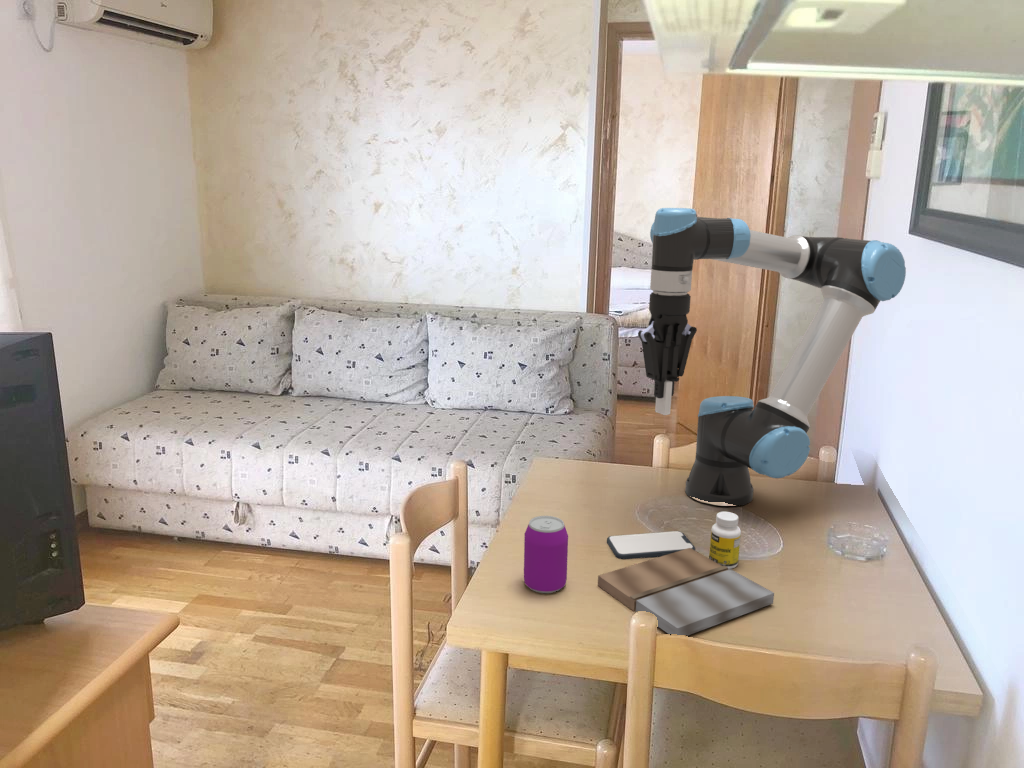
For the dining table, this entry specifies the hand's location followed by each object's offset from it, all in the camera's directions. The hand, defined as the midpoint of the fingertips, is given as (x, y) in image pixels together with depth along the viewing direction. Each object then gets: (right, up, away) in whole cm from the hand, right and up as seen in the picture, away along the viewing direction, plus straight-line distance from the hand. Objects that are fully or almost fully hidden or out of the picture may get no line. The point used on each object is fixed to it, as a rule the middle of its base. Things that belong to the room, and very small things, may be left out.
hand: (662, 412), depth 156 cm
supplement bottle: (+11, -29, -4) cm, 31 cm away
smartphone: (-2, -27, +3) cm, 27 cm away
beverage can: (-23, -30, -12) cm, 40 cm away
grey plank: (+4, -32, -20) cm, 38 cm away
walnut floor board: (-2, -30, -11) cm, 32 cm away
